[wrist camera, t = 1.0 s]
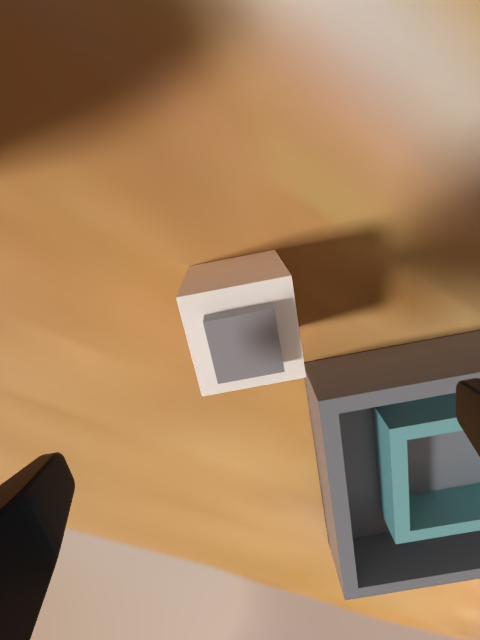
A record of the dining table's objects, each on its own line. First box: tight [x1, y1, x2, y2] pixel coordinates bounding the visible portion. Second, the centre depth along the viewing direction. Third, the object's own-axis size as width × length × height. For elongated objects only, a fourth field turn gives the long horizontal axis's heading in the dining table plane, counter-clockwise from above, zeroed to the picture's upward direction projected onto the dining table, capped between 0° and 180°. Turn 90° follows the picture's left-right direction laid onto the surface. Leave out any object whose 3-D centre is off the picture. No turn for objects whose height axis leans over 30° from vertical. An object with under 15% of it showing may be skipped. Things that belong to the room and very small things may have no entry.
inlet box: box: [304, 330, 480, 600], centre depth 20 cm, size 14×13×4 cm
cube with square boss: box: [176, 250, 306, 396], centre depth 15 cm, size 4×4×6 cm
